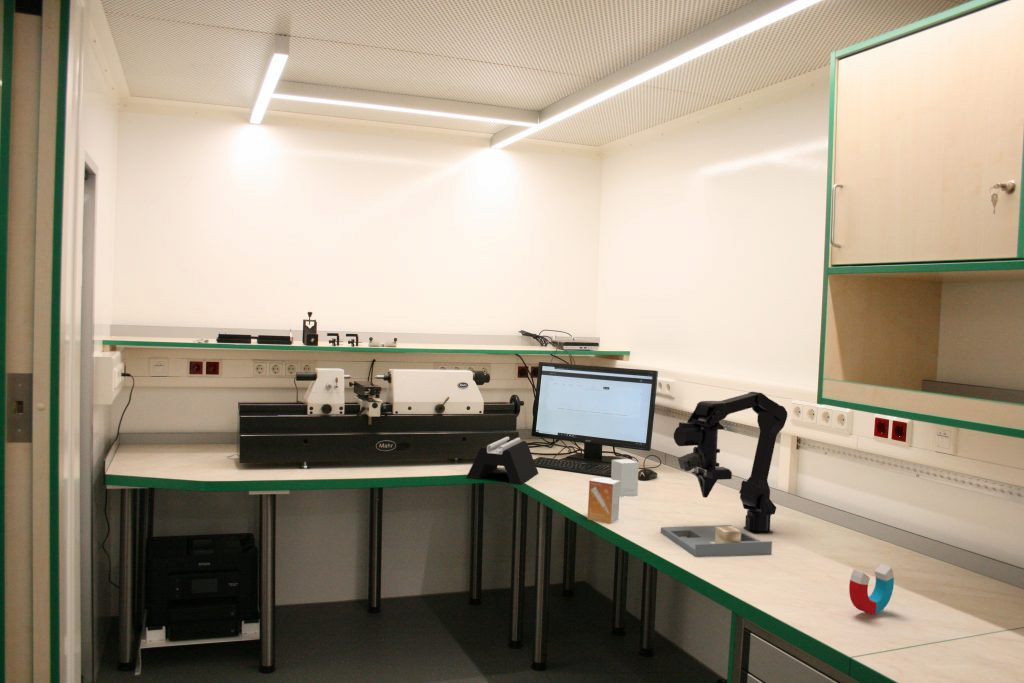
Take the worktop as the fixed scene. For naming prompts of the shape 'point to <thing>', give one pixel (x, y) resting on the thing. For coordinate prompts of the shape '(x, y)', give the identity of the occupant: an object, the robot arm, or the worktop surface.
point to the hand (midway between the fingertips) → (704, 497)
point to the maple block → (727, 535)
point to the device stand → (505, 461)
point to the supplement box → (626, 476)
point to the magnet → (878, 596)
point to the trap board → (706, 546)
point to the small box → (603, 500)
